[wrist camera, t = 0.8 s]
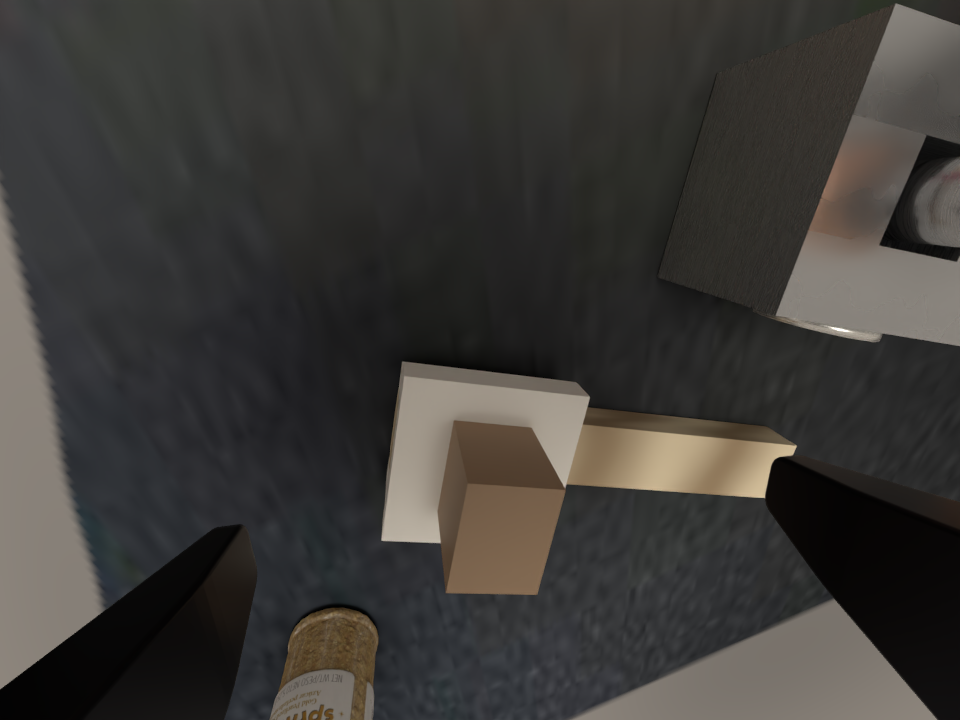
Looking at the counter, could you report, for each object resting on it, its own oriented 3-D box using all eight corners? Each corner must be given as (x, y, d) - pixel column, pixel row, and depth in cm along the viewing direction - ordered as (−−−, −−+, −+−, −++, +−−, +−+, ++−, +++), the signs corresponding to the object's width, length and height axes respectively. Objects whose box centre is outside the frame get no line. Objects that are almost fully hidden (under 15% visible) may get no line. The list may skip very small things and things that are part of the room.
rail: (766, 426, 24) (796, 445, 22) (746, 476, 25) (773, 498, 23) (398, 386, 20) (397, 406, 18) (390, 447, 21) (388, 471, 19)
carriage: (561, 365, 21) (640, 451, 14) (528, 497, 23) (582, 630, 16) (404, 345, 19) (404, 430, 12) (384, 488, 22) (375, 629, 15)
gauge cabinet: (881, 119, 20) (1120, 81, 13) (804, 311, 22) (971, 360, 16) (717, 73, 18) (895, 3, 11) (654, 286, 21) (770, 328, 14)
